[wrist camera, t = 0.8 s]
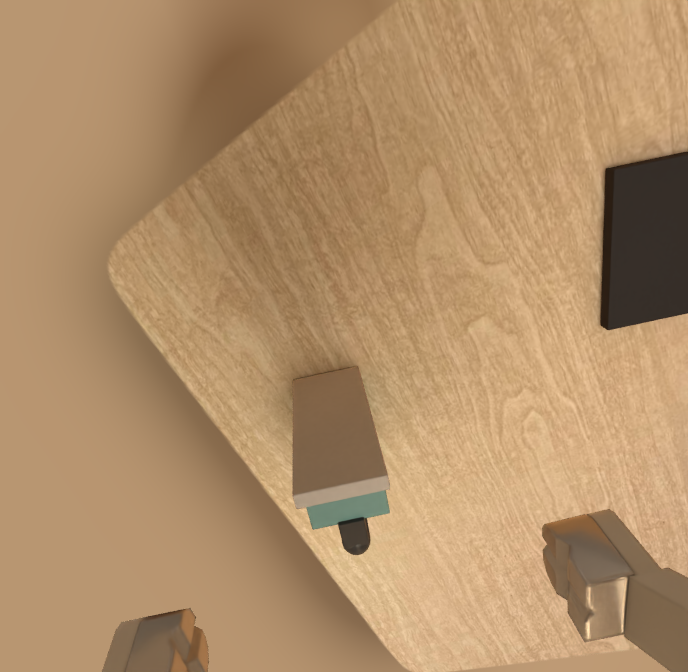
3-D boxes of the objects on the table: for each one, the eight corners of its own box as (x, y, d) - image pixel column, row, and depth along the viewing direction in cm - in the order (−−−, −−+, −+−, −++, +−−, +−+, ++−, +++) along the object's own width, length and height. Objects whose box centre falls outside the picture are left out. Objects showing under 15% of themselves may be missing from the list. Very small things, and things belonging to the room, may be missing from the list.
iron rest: (605, 168, 34) (614, 169, 33) (773, 133, 34) (787, 133, 33) (600, 325, 38) (608, 330, 37) (747, 294, 39) (758, 298, 38)
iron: (292, 379, 38) (292, 495, 26) (358, 365, 38) (388, 475, 26) (312, 456, 41) (320, 592, 29) (373, 443, 41) (406, 573, 29)
